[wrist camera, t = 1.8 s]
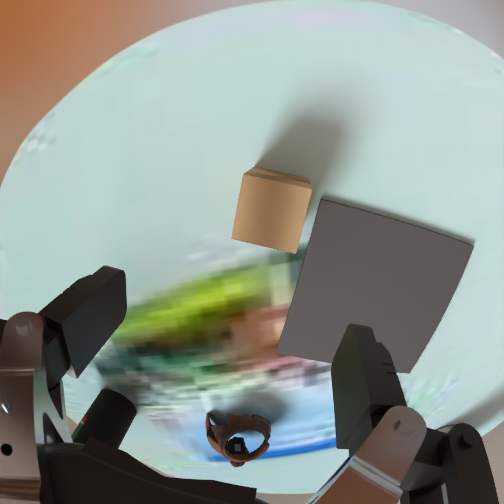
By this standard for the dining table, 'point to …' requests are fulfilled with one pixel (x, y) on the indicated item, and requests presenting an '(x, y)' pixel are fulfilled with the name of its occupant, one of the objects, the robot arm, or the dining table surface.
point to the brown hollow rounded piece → (236, 445)
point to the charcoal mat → (371, 284)
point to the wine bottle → (106, 419)
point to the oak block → (271, 209)
